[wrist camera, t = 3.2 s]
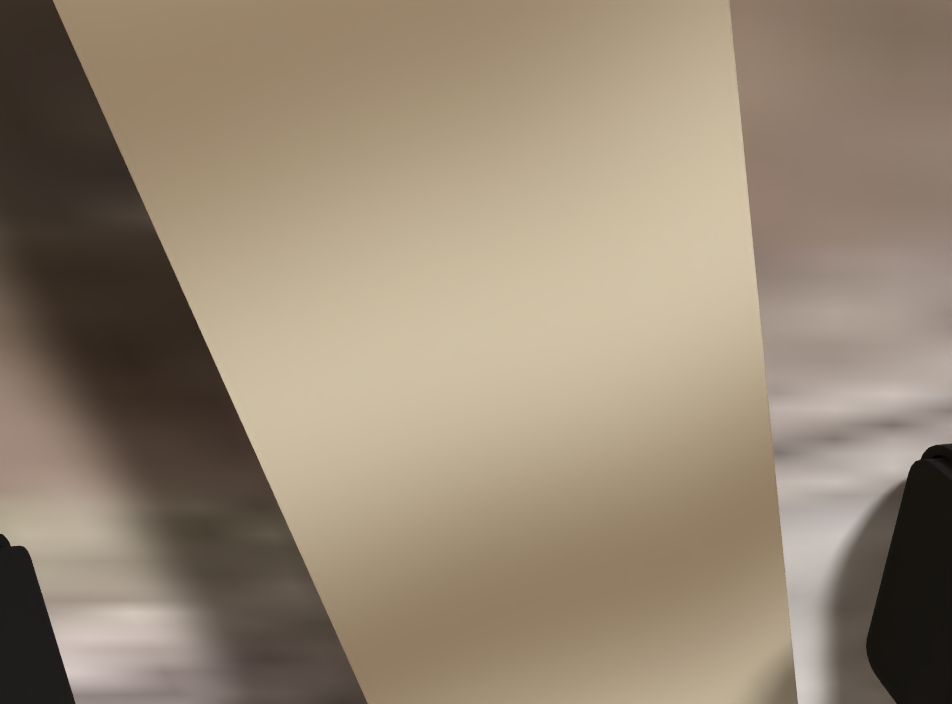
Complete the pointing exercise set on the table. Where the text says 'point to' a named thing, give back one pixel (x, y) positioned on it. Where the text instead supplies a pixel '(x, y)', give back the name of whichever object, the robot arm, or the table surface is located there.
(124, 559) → the table surface
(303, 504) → the birch bar
